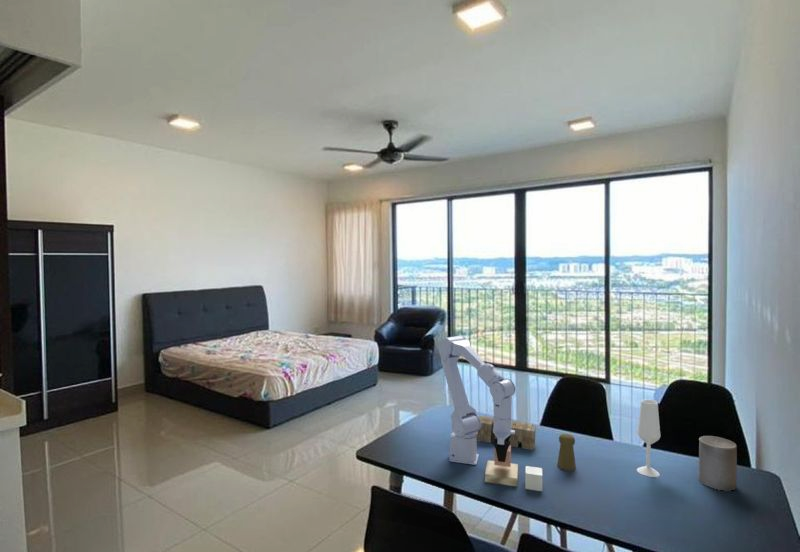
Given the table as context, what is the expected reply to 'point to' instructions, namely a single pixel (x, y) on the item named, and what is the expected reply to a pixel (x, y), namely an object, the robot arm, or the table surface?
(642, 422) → the champagne flute
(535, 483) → the off-white cube
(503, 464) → the terracotta cube
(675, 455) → the table surface
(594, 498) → the table surface
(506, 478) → the birch base block
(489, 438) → the block tower
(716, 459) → the pillar candle
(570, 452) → the cork
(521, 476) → the table surface
